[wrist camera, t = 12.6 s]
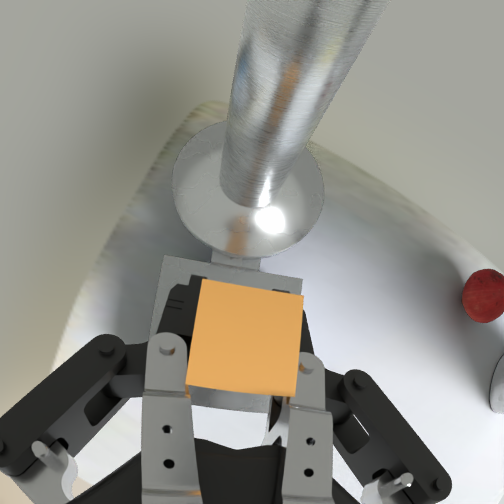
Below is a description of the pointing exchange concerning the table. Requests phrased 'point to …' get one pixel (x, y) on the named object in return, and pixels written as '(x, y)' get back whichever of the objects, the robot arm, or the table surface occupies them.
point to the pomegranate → (484, 295)
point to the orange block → (245, 340)
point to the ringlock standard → (263, 153)
